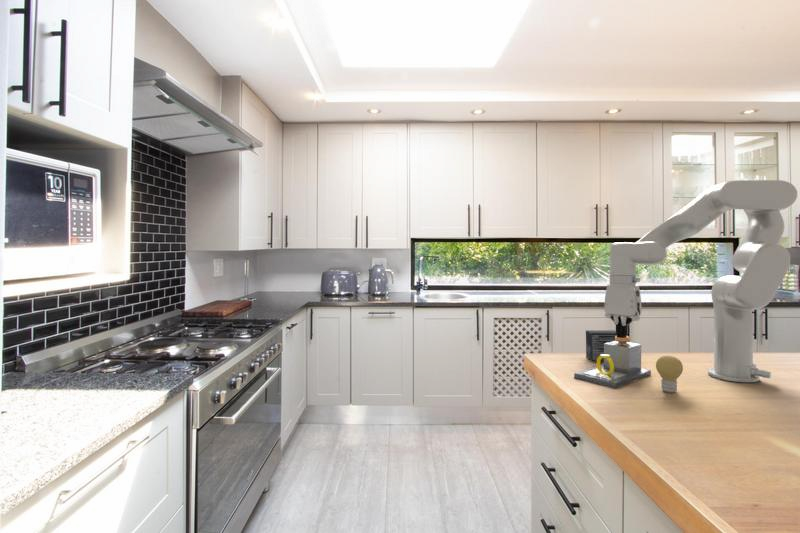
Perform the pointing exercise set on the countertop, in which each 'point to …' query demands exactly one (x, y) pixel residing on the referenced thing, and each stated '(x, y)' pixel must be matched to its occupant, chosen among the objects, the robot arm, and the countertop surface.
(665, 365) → the light bulb
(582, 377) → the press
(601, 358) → the watch
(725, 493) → the countertop surface
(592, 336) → the small box
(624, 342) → the light orange ellipsoid
